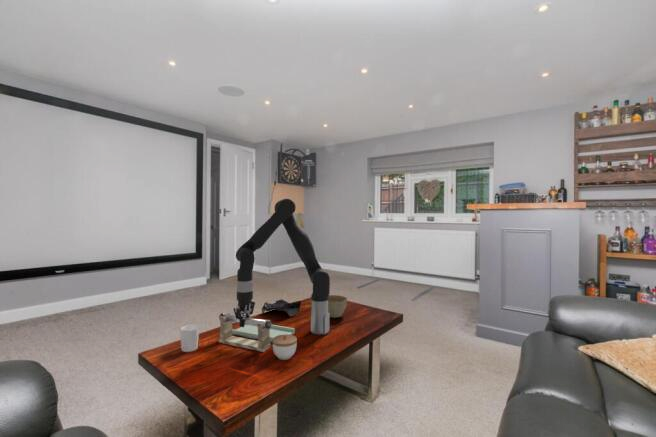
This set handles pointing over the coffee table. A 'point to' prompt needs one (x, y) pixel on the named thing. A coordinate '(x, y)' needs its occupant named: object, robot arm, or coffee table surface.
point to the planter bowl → (336, 305)
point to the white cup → (189, 337)
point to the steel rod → (246, 320)
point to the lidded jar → (284, 346)
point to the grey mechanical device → (283, 307)
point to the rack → (258, 345)
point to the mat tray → (252, 331)
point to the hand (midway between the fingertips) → (244, 325)
